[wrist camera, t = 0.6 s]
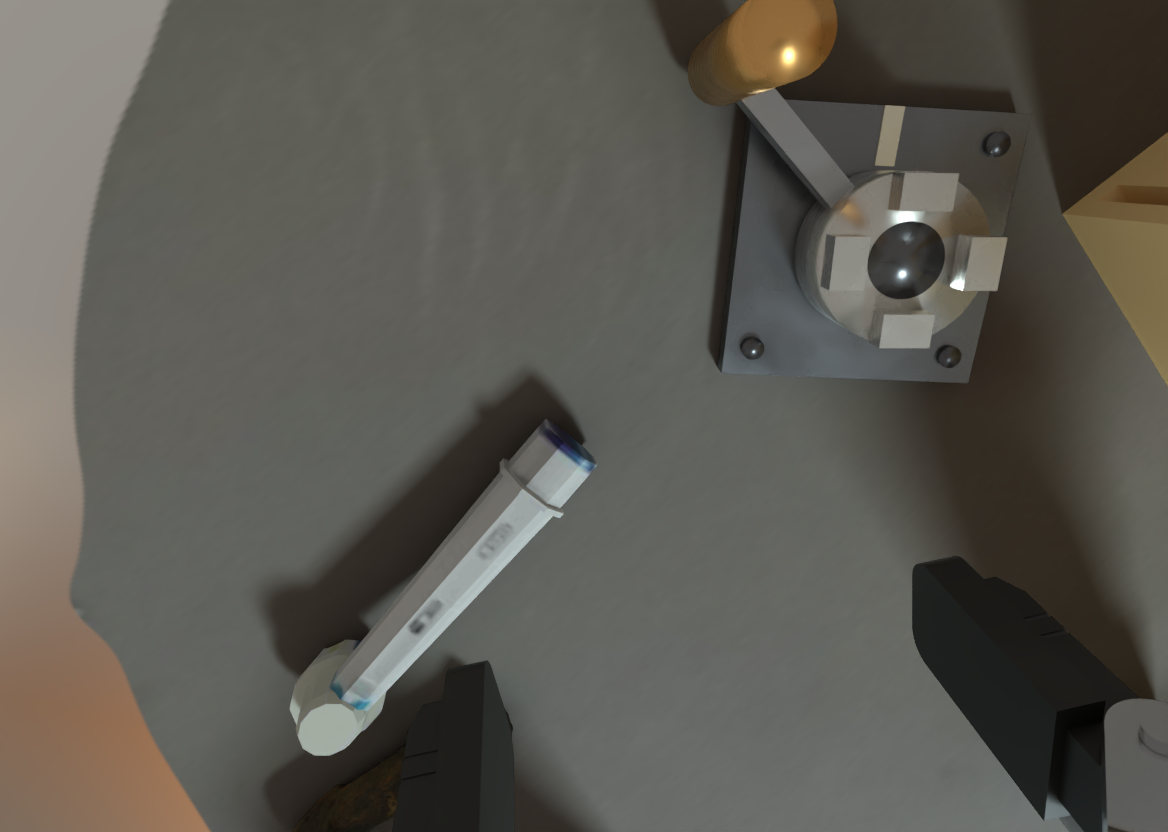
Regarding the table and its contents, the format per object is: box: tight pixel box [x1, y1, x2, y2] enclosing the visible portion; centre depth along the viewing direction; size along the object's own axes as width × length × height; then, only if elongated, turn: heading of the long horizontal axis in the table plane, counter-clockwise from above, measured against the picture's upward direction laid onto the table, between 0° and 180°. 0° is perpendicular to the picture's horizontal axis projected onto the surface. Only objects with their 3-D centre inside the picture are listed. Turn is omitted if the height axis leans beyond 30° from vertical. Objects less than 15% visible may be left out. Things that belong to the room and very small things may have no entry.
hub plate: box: [717, 100, 1032, 383], centre depth 38 cm, size 14×14×2 cm
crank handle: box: [688, 0, 1008, 348], centre depth 31 cm, size 18×8×11 cm, turn 45°
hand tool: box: [292, 711, 513, 832], centre depth 48 cm, size 19×4×5 cm, turn 124°
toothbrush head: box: [290, 419, 597, 756], centre depth 43 cm, size 5×7×25 cm
